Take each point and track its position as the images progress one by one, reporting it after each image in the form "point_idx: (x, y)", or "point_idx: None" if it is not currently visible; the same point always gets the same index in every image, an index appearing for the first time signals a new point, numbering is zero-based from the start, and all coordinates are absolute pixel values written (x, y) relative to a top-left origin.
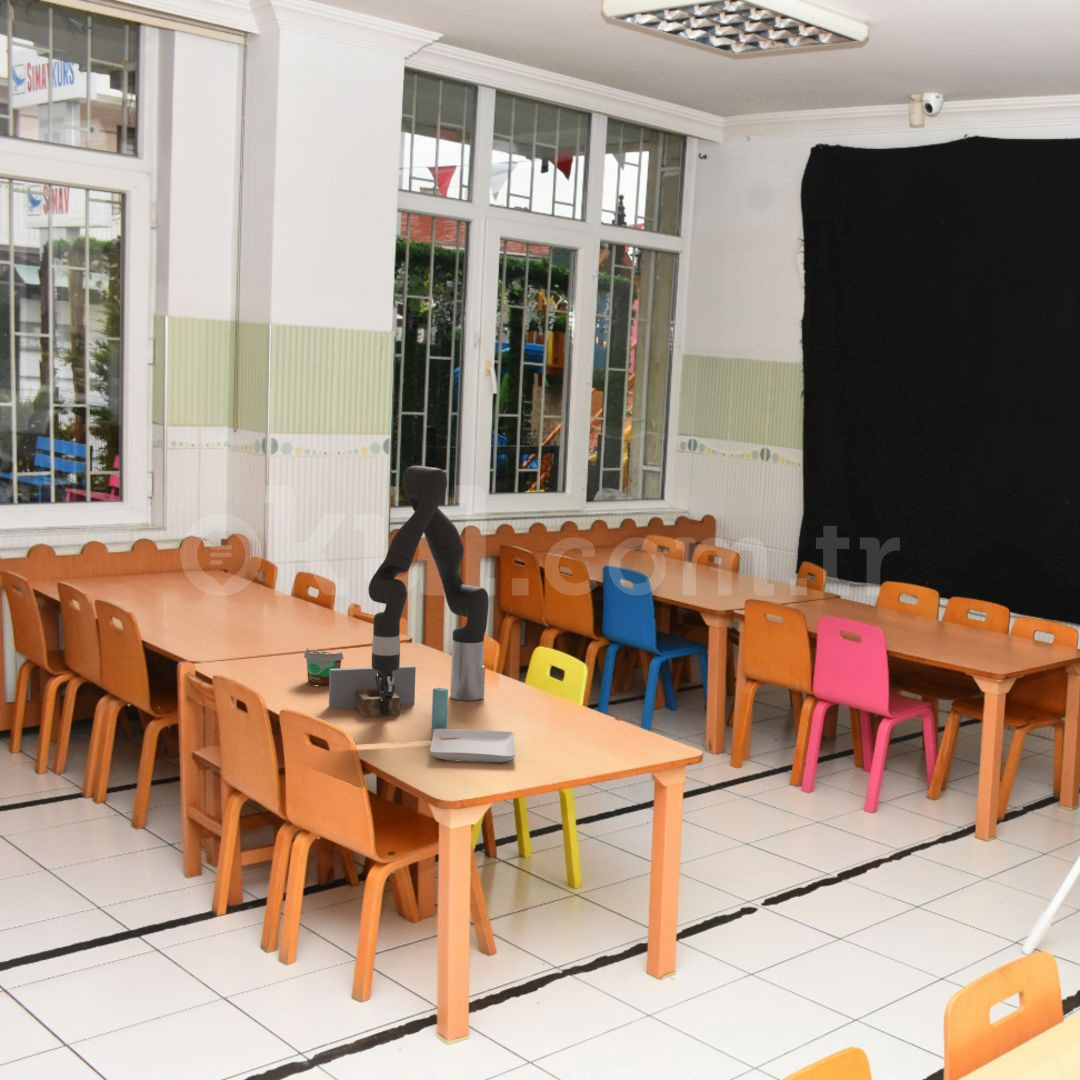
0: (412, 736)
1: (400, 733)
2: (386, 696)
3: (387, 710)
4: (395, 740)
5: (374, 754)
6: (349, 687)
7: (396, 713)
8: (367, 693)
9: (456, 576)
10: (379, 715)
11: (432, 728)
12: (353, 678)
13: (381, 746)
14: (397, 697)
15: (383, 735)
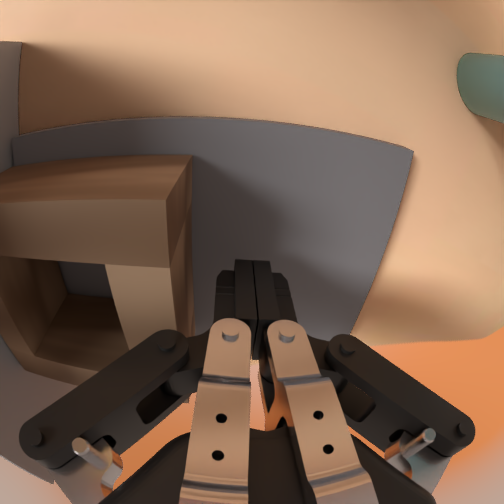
0: (461, 196)
1: (415, 224)
2: (343, 387)
3: (288, 288)
4: (456, 265)
5: (478, 327)
6: (31, 395)
7: (191, 177)
8: (31, 336)
9: None
10: (192, 271)
11: (496, 120)
12: (10, 419)
13: (461, 309)
14: (158, 222)
15: (400, 288)
